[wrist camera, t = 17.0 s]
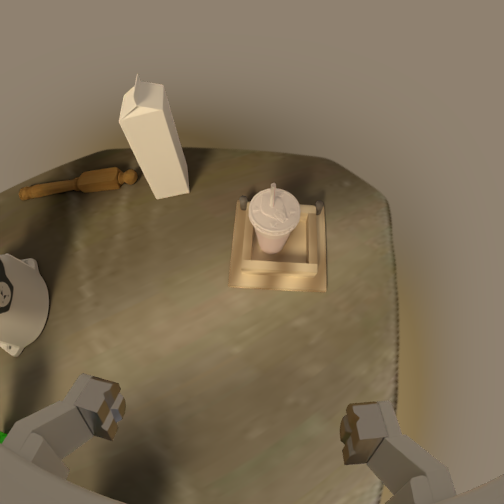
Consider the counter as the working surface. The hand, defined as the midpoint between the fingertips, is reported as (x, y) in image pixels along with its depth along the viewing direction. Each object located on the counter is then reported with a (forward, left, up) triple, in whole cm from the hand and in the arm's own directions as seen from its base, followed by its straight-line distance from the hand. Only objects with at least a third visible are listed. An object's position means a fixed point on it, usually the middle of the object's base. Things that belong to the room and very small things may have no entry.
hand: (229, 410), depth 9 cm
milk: (-16, +31, -32) cm, 47 cm away
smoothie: (+2, +20, -31) cm, 37 cm away
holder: (+3, +20, -31) cm, 38 cm away
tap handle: (-38, +31, -32) cm, 58 cm away
